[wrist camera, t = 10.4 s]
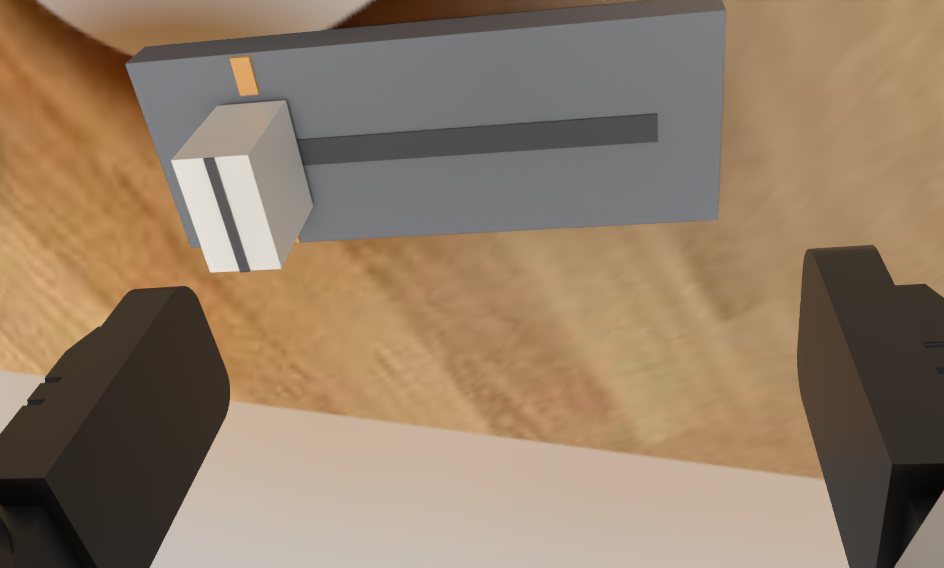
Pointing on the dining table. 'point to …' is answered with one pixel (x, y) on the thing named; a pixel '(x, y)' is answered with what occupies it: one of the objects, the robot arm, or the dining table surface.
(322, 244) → the dining table surface
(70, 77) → the dining table surface
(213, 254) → the block
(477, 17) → the slider board
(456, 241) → the dining table surface
